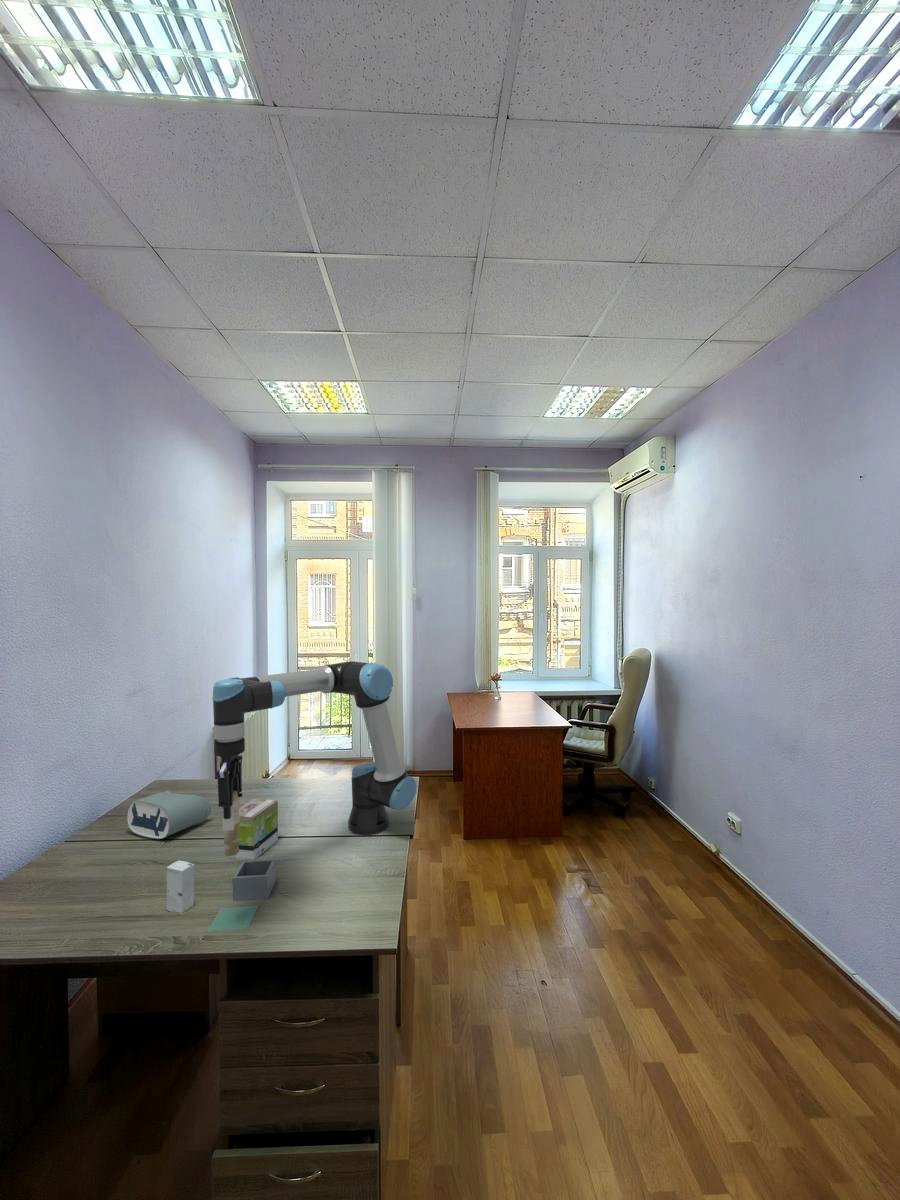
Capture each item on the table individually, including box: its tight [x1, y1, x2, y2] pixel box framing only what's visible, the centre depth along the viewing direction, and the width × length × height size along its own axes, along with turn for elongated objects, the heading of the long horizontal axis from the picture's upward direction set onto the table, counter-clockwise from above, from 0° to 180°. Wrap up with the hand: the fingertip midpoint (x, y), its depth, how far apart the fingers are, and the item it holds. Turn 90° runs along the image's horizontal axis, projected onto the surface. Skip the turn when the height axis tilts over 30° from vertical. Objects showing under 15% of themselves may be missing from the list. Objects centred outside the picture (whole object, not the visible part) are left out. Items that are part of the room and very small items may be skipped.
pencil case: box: [125, 790, 212, 840], centre depth 196 cm, size 22×19×13 cm
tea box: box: [227, 798, 279, 860], centre depth 178 cm, size 15×10×15 cm, turn 168°
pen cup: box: [232, 858, 277, 902], centre depth 152 cm, size 10×10×7 cm
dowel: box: [223, 790, 239, 857], centre depth 138 cm, size 4×4×16 cm
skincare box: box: [166, 860, 195, 914], centre depth 144 cm, size 6×4×12 cm
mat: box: [207, 905, 259, 933], centre depth 139 cm, size 10×10×1 cm
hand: (231, 825), depth 138 cm, fingers closed on dowel, 3 cm apart
